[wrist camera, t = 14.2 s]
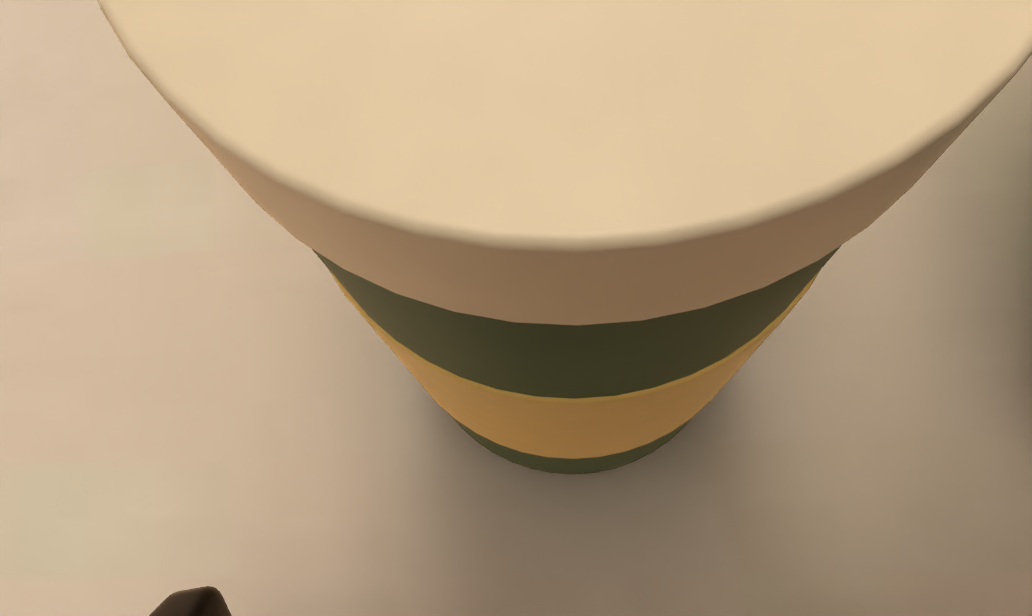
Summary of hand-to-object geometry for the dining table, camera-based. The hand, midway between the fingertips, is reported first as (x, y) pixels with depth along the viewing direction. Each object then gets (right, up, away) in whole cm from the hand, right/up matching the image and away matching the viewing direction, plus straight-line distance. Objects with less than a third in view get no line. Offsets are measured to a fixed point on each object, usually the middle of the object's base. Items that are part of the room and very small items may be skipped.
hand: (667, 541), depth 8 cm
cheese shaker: (0, +2, +9) cm, 9 cm away
